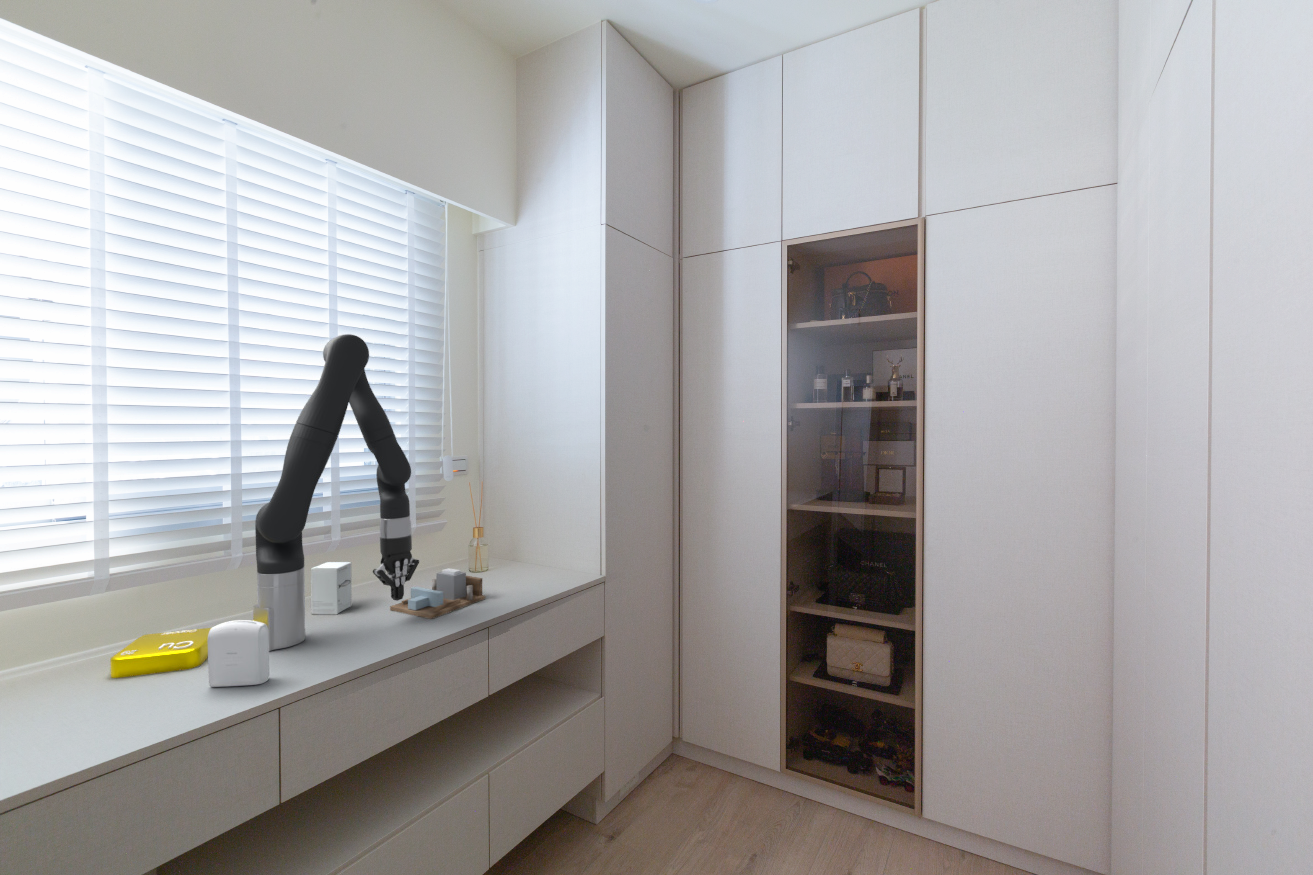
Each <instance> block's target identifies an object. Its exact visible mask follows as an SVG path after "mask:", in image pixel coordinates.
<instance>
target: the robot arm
mask: <svg viewBox="0 0 1313 875" xmlns="http://www.w3.org/2000/svg"><path fill="white" fill-rule="evenodd" d="M322 358H323V360H324V366H323V369H322V372H321V375H320V379H319V380H318V384H317V385H316V388H315V389H314V391H313V392H312V394H310V397H309V398H308V400H307V402H306V403H305V405H304V406H303V408H302V410H301V411H300V413H299V416H298V418H297V419H296V422H295V424H294V427H293V428H292V431H291V434H290V437H289V440H288V443H287V447H286V450H285V455H284V459H283V466H282V471H281V476H280V478H279V481H278V483H277V485H276V488H275V491H274V493H273V494H272V497H271V498H270V500H269V502H267V503H265V504H264V505H262V507H261V508H260V509H259V510H258V511H257V513H256V515H255V522H254V523H255V524H254V525H255V528H254V529H255V532H254V533H255V559H256V581H257V582H256V584H257V586H256V588H257V589H256V592H257V594H256V595H257V596H256V599H257V601H256V602H257V603H256V604H254V605H253V608H252V612H253V613H252V614H253V615H252V618H253V619H252V621H257V622H261V623H264V624H266V625H267V627H268V637H269V652H270V651H271V652H272V651H273V650H274V651H275V650H279V649H285V648H289V647H293V646H297V645H298V644H300V643H302V642H304V640H305V639H306V613H305V612H306V611H305V610H306V606H305V601H306V600H305V598H306V595H305V593H306V591H305V587H306V586H305V582H306V581H305V577H306V576H305V575H306V574H305V555H304V548H303V547H304V546H303V531H304V529H305V527H306V523H307V519H308V516H309V512H310V511H309V510H310V508H311V504H312V503H311V502H312V501H313V500H312V499H313V497H314V492H315V490H316V487H317V485H318V483H319V480H320V479H321V477H322V474H323V472H324V470H325V468H326V466H327V464H328V462H329V459H330V457H331V454H332V452H333V450H334V447H335V445H336V442H337V440H338V439H339V438H338V437H339V434H340V432H341V428H342V425H343V423H344V420H345V417H346V413H347V410H348V406H349V405H350V409H351V410H352V413H353V415H354V417H355V421H356V423H357V425H358V427H359V431H360V432H361V435H362V438H363V440H364V442H365V444H366V447H367V449H368V451H370V453H372V454H373V456H374V458H375V460H376V462H377V464H378V465H377V467H376V473H375V474H376V483H377V490H378V494H379V495H378V496H379V499H380V501H379V502H380V503H379V515H380V518H379V520H380V522H379V549H380V554H381V559H380V565H379V566H378V567H377V568H373V569H372V573H373V575H375V577H376V578H377V579H378V580H379V581H380V582H381V583H382V584H383V586H387V587H390V598H391V599H392V600H393V601H397V602H398V601H400V600H401V601H402V600H404V599H403V598H404V596H405V584H406V582H409V581H410V580H411V579H412V578H413V575H414V573H415V571H416V569H417V568H418V566H419V564H420V560H419V559H417V558H416V559H415V558H414V557H413V554H412V552H411V551H412V549H413V548H412V546H413V544H412V542H413V540H412V538H413V536H412V522H411V513H410V512H411V511H410V510H411V509H410V499H409V496H408V495H407V492H406V483H407V482H408V481H409V480H410V478H411V476H412V469H411V468H412V467H411V464H410V462H409V460H408V458H407V456H406V454H405V452H404V451H403V448H402V447H401V446H400V444H399V442H398V440H397V437H396V435H395V434H396V433H395V432H394V429H393V427H392V425H391V422H390V419H389V417H388V416H387V414H386V411H385V410H384V408H383V406H382V405H381V403H380V402H379V400H378V399H377V397H376V395H375V393H374V391H373V389H372V387H371V385H370V383H369V381H368V377H367V374H366V370H365V368H366V366H367V365H368V362H369V359H370V350H369V348H368V345H367V343H366V342H365V340H364V339H363V338H361V337H360V336H357V335H355V334H351V333H350V334H349V333H348V334H341V335H337V336H335V337H333V338H332V339H330V340H329V341H328V342H326V344H325V345H324V347H323V351H322Z"/></svg>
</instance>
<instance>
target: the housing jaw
mask: <svg viewBox="0 0 1313 875" xmlns="http://www.w3.org/2000/svg"><path fill="white" fill-rule="evenodd" d="M410 598H411V599H409V598H408V599H409V600H408V609H412V610H418V609H421V608H424V607H427V606H431V607H437V606H439V605H442V604H443V592H441V591H436V590H432V589H430V588H424V587H419V586H412V587H410Z"/></svg>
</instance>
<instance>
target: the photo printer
mask: <svg viewBox="0 0 1313 875" xmlns="http://www.w3.org/2000/svg"><path fill="white" fill-rule="evenodd" d="M210 628H211V629H210V631H209V634H208V658H207V665H208V666H207V669H208V686H209V687H210V688H215V687H219V688H220V687H238V686H253V685H261V684H264V683H266V682H267V681H268V680H269V679H270V651H269V637H268V627H267V625H266V624H264V623H261V622H257V621H253V620H251V619H250V620H249V619H235V620H230V621H229V620H228V621H225V622H222V623H219V624H217V625H215V626H213V627H210Z"/></svg>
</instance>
